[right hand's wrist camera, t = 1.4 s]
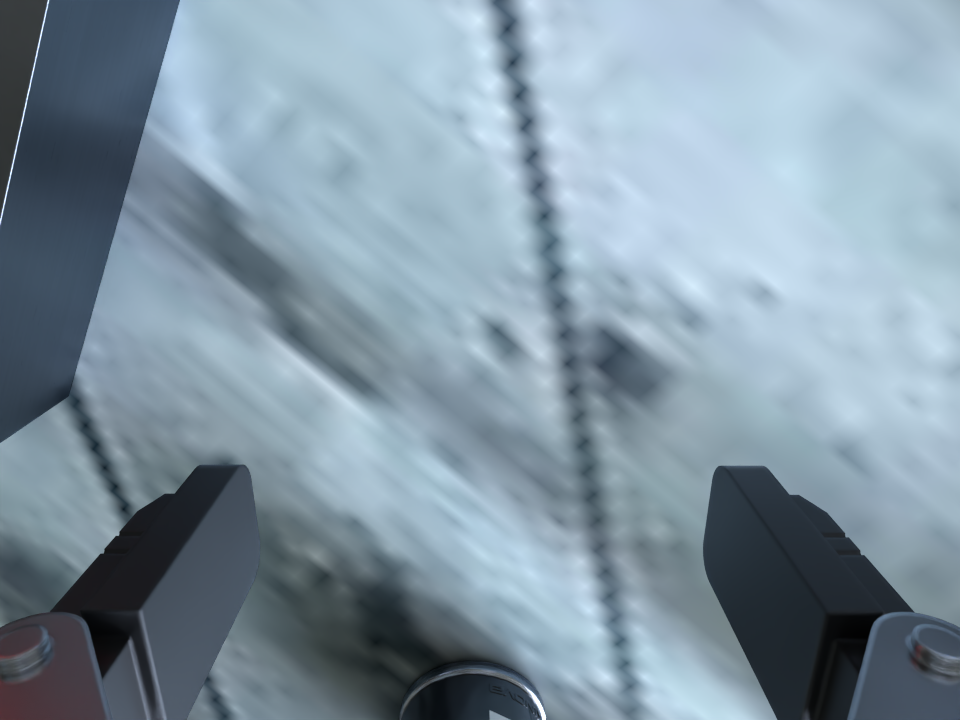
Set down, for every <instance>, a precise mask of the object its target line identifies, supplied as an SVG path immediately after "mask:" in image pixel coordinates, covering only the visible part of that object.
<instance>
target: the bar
mask: <svg viewBox="0 0 960 720" xmlns="http://www.w3.org/2000/svg"><path fill="white" fill-rule="evenodd" d="M179 1H180V0H0V443H1V442H2V441H4V440H5V439H7V438H8V437H10V436H11V435H13V434H14V433H16V432H17V431H18V430H20V429H21V428H23V427H24V426H26V425H27V424H29V423H30V422H32V421H33V420H35V419H36V418H37V417H39V416H40V415H42V414H43V413H45V412H46V411H48V410H49V409H51V408H52V407H54V406H55V405H57V404H58V403H59V402H61V401H62V400H64V399H65V398H67V397H68V396H69V393H70V389H71V385H72V382H73V378H74V375H75V371H76V368H77V364H78V361H79V357H80V353H81V350H82V346H83V343H84V339H85V336H86V332H87V329H88V325H89V321H90V318H91V314H92V311H93V307H94V304H95V300H96V296H97V293H98V289H99V286H100V282H101V279H102V275H103V272H104V268H105V264H106V261H107V257H108V254H109V250H110V247H111V243H112V240H113V236H114V232H115V229H116V225H117V222H118V218H119V215H120V211H121V207H122V204H123V200H124V197H125V193H126V190H127V186H128V183H129V179H130V175H131V172H132V168H133V165H134V161H135V158H136V154H137V151H138V147H139V143H140V140H141V136H142V133H143V129H144V126H145V122H146V118H147V115H148V111H149V108H150V104H151V101H152V97H153V94H154V90H155V86H156V83H157V79H158V76H159V72H160V69H161V65H162V62H163V58H164V54H165V51H166V47H167V44H168V40H169V37H170V33H171V29H172V26H173V22H174V19H175V15H176V12H177V8H178V5H179Z"/></svg>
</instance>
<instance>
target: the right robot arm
mask: <svg viewBox="0 0 960 720" xmlns="http://www.w3.org/2000/svg"><path fill="white" fill-rule="evenodd" d="M104 550H105V551H104V554H100V555H99V556H98V557H97V558H96V559H95V561H94V562H93V563H92V564H91V565H90V566H89V568H88V569H87V570H86V571H85V572H84V573H83V574H82V576H81V577H80V578H79V579H78V580H77V581H76V582H75V584H74V585H73V586H72V587H71V588H70V589H69V590H68V592H67V593H66V594H65V595H64V596H63V597H62V599H61V600H60V601H59V602H58V603H57V604H56V605H55V607H54V608H53V609H52V610H51V611H50V612H48V613H40V614H36V615H32V616H28V617H25V618H22V619H19V620H16V621H14V622H11V623H9V624H6V625H4V626H2V627H0V720H186V719H187V717H188V715H189V713H190V711H191V709H192V706H193V704H194V702H195V700H196V698H197V696H198V694H199V692H200V690H201V688H202V686H203V684H204V682H205V680H206V678H207V676H208V674H209V672H210V670H211V668H212V666H213V663H214V661H215V659H216V657H217V655H218V653H219V651H220V649H221V647H222V645H223V643H224V641H225V639H226V637H227V635H228V633H229V631H230V629H231V627H232V625H233V623H234V621H235V618H236V616H237V614H238V612H239V610H240V608H241V606H242V604H243V602H244V600H245V598H246V596H247V594H248V592H249V590H250V588H251V586H252V584H253V582H254V579H255V577H256V574H257V570H258V566H259V560H260V538H259V531H258V524H257V517H256V509H255V502H254V495H253V488H252V481H251V475H250V472H249V470H248V468H247V467H246V466H245V465H199V466H197V467H196V468H195V469H194V471H193V472H192V473H191V474H190V475H189V477H188V478H187V479H186V480H185V482H184V483H183V484H182V485H181V487H180V488H179V489H178V490H177V491H176V493H175V494H164V495H162V496H161V497H159V498H158V499H156V500H155V501H153V502H151V503H150V504H148V505H147V506H145V507H143V508H142V509H140V510H139V511H137V512H136V514H135V515H134V516H133V517H132V518H131V519H130V520H129V522H128V523H127V524H126V525H125V526H124V527H123V528H122V530H121V531H120V534H119V536H116V537H115V538H114V539H113V540H112V541H111V542H110V543H109V545H108V546H107V547H106V548H105V549H104ZM703 557H704V565H705V570H706V574H707V577H708V580H709V582H710V584H711V586H712V588H713V590H714V592H715V594H716V596H717V598H718V600H719V602H720V604H721V606H722V608H723V610H724V612H725V614H726V616H727V618H728V620H729V623H730V625H731V627H732V629H733V631H734V633H735V635H736V637H737V639H738V641H739V643H740V645H741V647H742V649H743V651H744V653H745V655H746V657H747V659H748V661H749V663H750V665H751V667H752V669H753V671H754V673H755V675H756V677H757V679H758V681H759V683H760V685H761V687H762V689H763V691H764V693H765V695H766V697H767V699H768V701H769V703H770V705H771V707H772V709H773V711H774V713H775V715H776V718H777V720H960V627H958V626H956V625H954V624H951V623H949V622H946V621H944V620H941V619H938V618H935V617H932V616H928V615H924V614H920V613H915V612H914V611H913V610H912V609H911V608H910V607H909V606H908V604H907V603H906V602H905V601H904V600H903V599H902V598H901V596H900V595H899V594H898V593H897V592H896V591H895V590H894V588H893V587H892V586H891V585H890V584H889V583H888V582H887V581H886V579H885V578H884V577H883V576H882V575H881V574H880V573H879V571H878V570H877V569H876V568H875V567H874V566H873V565H872V563H871V562H870V561H869V560H868V559H867V558H866V557H865V556H864V555H861V554H860V550H859V549H858V548H857V546H856V545H855V544H854V543H853V542H852V541H851V540H850V538H846V537H845V533H844V532H843V530H842V529H841V528H840V527H839V526H838V525H837V524H836V523H835V521H834V520H833V519H832V518H831V517H830V516H829V515H828V513H827V512H825V511H823V510H822V509H820V508H819V507H817V506H815V505H814V504H812V503H811V502H809V501H808V500H806V499H804V498H803V497H801V496H800V495H789V494H788V492H787V491H786V490H785V489H784V488H783V486H782V485H781V484H780V483H779V482H778V480H777V479H776V478H775V477H774V475H773V474H772V473H771V472H770V471H769V469H768V468H766V467H765V466H718V467H717V468H716V470H715V472H714V475H713V479H712V486H711V493H710V500H709V507H708V514H707V521H706V528H705V535H704V542H703ZM399 720H546V718H545V709H544V704H543V701H542V699H541V696H540V695H539V693H538V691H537V690H536V688H535V687H534V686H533V685H532V684H531V683H530V682H529V681H528V680H527V679H526V678H524V677H523V676H522V675H520V674H519V673H517V672H515V671H513V670H511V669H509V668H507V667H504V666H501V665H498V664H494V663H489V662H482V661H463V662H456V663H451V664H447V665H444V666H441V667H438V668H436V669H433V670H431V671H430V672H428V673H426V674H425V675H423V676H422V677H420V678H419V679H418V680H417V681H416V682H415V683H414V684H413V685H412V686H411V687H410V688H409V690H408V691H407V693H406V695H405V697H404V699H403V702H402V705H401V711H400V718H399Z"/></svg>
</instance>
